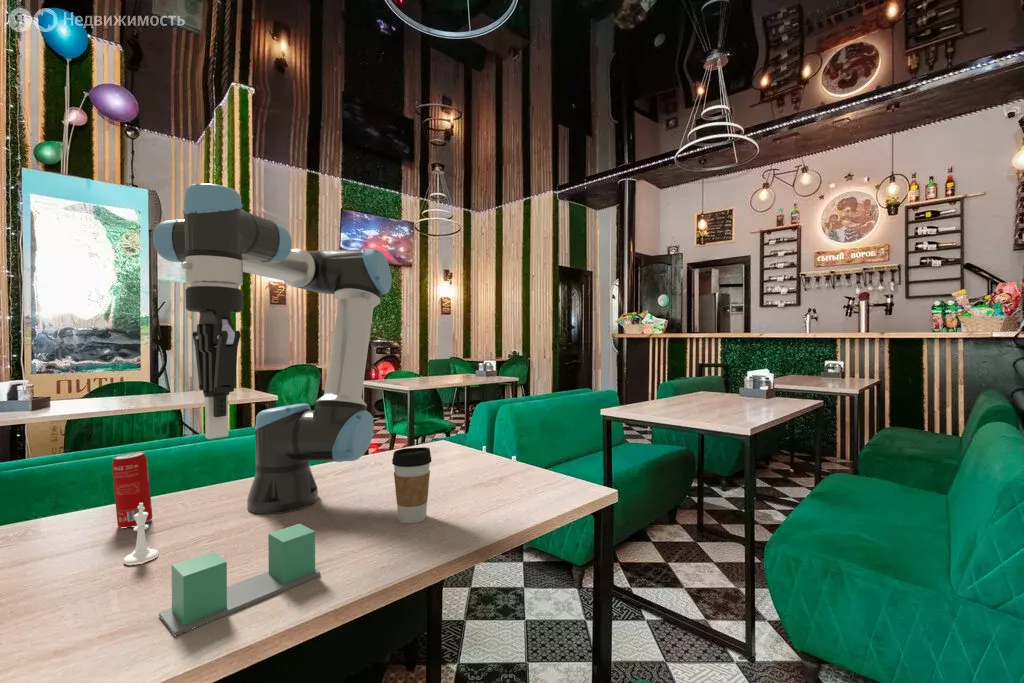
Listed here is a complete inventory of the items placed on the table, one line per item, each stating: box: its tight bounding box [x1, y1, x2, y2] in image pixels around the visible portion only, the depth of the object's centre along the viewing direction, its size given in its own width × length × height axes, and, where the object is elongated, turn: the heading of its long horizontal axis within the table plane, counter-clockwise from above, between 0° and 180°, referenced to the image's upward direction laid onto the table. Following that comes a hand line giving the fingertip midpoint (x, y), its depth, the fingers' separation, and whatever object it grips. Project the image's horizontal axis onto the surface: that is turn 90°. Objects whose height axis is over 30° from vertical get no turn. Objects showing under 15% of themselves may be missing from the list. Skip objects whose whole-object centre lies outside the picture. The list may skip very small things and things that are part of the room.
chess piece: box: [123, 503, 159, 563], centre depth 81 cm, size 5×5×10 cm
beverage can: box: [111, 451, 153, 528], centre depth 97 cm, size 6×6×15 cm
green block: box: [171, 551, 228, 625], centre depth 65 cm, size 5×5×7 cm
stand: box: [158, 523, 321, 637], centre depth 70 cm, size 7×20×7 cm, turn 141°
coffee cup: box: [391, 446, 433, 525], centre depth 99 cm, size 8×8×15 cm
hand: (217, 436), depth 72 cm, fingers closed
